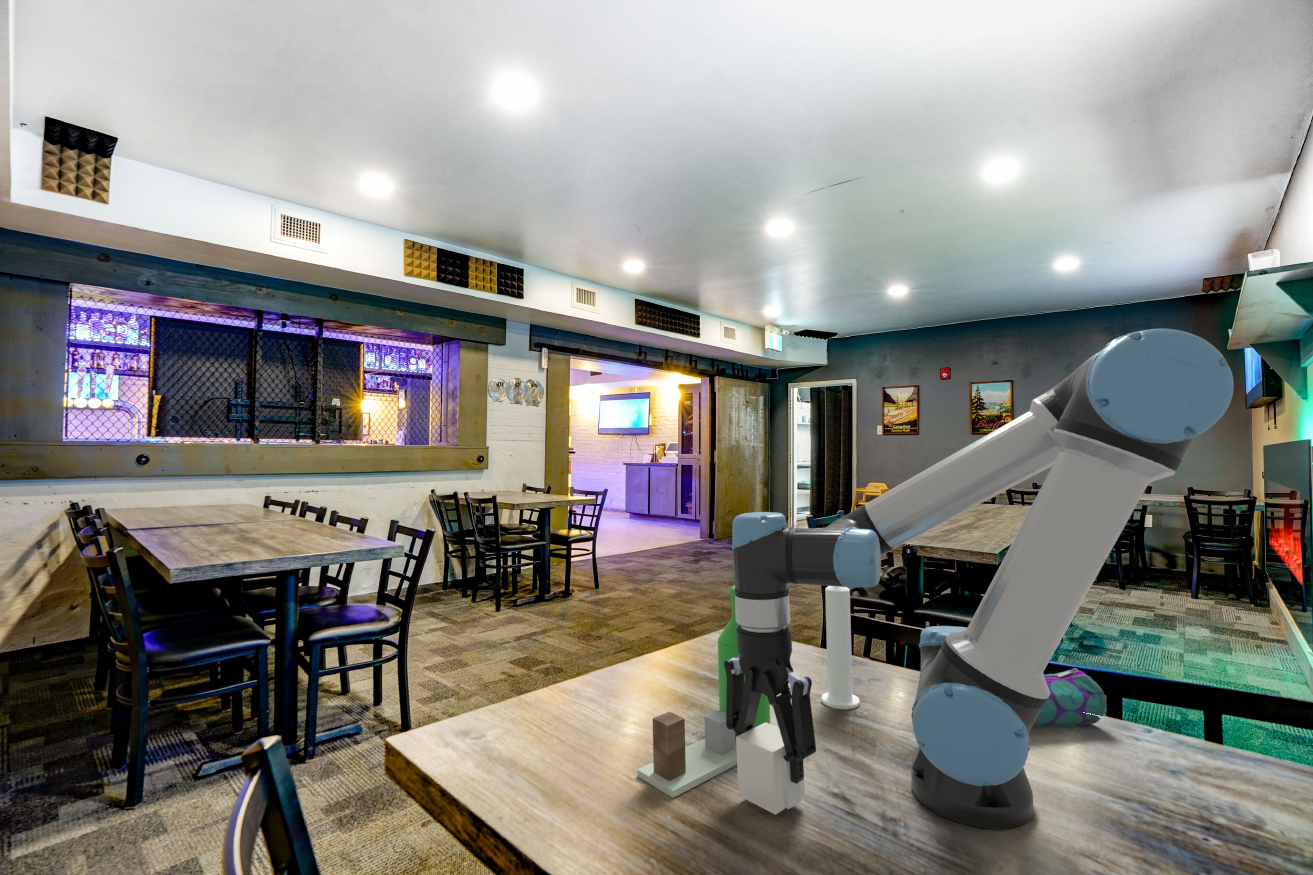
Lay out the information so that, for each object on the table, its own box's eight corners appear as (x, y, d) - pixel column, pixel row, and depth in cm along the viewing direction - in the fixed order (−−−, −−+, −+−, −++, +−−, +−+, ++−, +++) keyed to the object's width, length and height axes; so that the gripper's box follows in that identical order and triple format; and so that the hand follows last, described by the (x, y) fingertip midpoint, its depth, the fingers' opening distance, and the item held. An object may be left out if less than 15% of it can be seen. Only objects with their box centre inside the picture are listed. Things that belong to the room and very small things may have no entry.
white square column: (804, 795, 84) (802, 736, 84) (775, 814, 80) (772, 752, 80) (768, 777, 89) (765, 722, 89) (738, 795, 85) (735, 736, 85)
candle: (863, 699, 119) (860, 570, 119) (854, 712, 113) (850, 576, 113) (827, 692, 123) (824, 567, 123) (816, 704, 117) (813, 573, 117)
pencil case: (1068, 710, 112) (1066, 657, 113) (1109, 732, 104) (1107, 674, 104) (962, 718, 110) (960, 664, 110) (994, 741, 101) (992, 682, 101)
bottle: (769, 743, 102) (766, 592, 102) (717, 739, 104) (714, 591, 104) (770, 720, 111) (767, 581, 111) (722, 716, 112) (719, 580, 113)
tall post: (685, 772, 91) (684, 718, 91) (668, 780, 89) (667, 725, 89) (670, 763, 94) (669, 711, 94) (653, 771, 92) (652, 718, 92)
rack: (751, 756, 98) (750, 718, 98) (673, 797, 86) (672, 755, 87) (715, 739, 104) (714, 703, 104) (637, 775, 92) (636, 735, 93)
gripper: (839, 631, 80) (849, 810, 79) (729, 608, 95) (736, 759, 94) (805, 645, 75) (815, 836, 74) (695, 618, 90) (702, 777, 89)
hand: (771, 793), depth 84 cm, fingers closed on white square column, 6 cm apart
